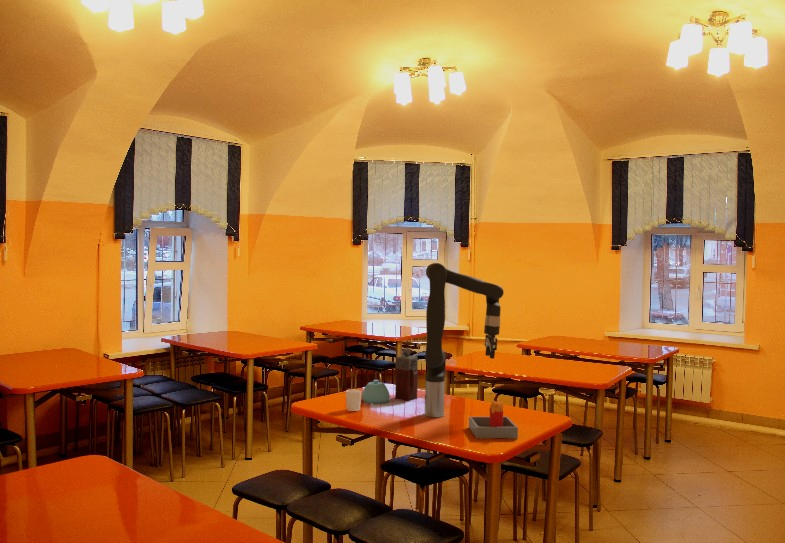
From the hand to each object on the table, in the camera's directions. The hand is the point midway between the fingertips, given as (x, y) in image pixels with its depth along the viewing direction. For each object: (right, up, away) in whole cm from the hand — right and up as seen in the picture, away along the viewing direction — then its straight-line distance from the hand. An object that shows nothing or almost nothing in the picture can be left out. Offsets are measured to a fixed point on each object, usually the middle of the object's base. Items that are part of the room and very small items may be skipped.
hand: (489, 357), depth 309 cm
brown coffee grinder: (-40, -28, +31) cm, 58 cm away
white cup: (-68, -28, +4) cm, 74 cm away
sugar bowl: (-58, -28, +25) cm, 69 cm away
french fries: (-2, -29, -33) cm, 44 cm away
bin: (-4, -30, -32) cm, 44 cm away
